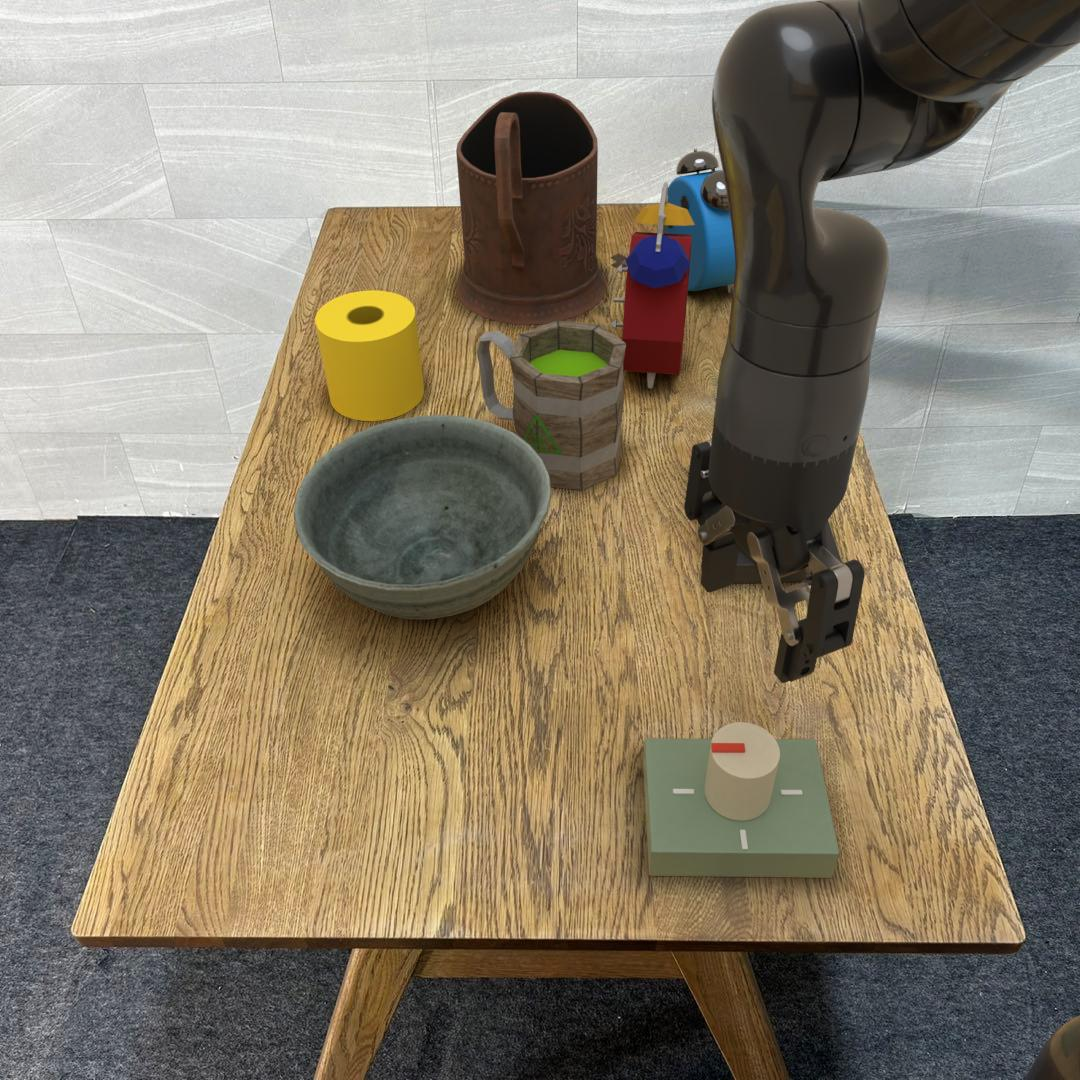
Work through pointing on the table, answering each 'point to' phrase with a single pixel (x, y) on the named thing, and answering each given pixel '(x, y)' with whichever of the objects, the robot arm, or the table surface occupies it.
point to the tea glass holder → (529, 211)
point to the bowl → (424, 514)
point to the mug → (563, 397)
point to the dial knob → (741, 771)
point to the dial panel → (729, 845)
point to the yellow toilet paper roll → (370, 354)
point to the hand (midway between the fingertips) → (752, 628)
